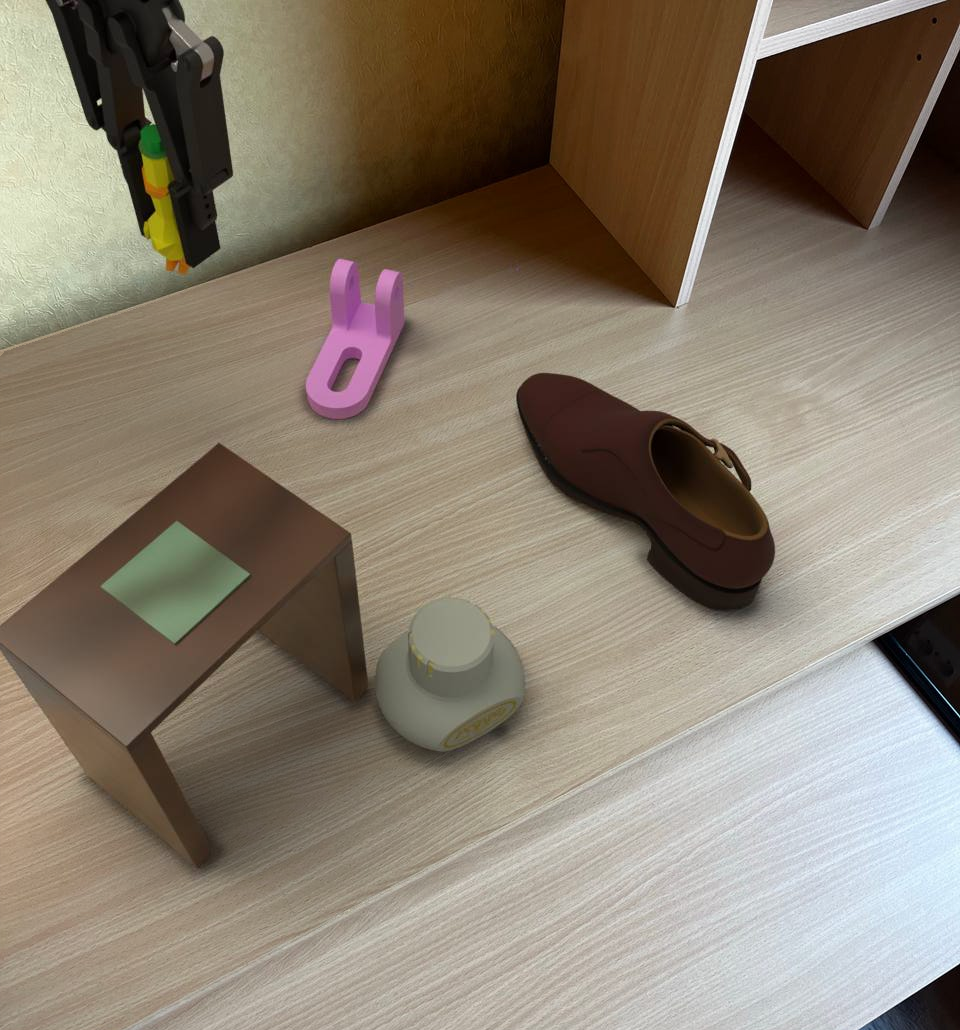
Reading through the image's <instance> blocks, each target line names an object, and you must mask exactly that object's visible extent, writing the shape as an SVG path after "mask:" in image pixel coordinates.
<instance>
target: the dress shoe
mask: <svg viewBox="0 0 960 1030" xmlns="http://www.w3.org/2000/svg"><path fill="white" fill-rule="evenodd" d="M515 399H516V400H515V401H516V407H517V410H518V415H519V418H520V421H521V423H522V427H523V429H524V432H525V434H526V438H527V439H528V442H529V444H530V447H531V449H532V451H533V453H534V455H535V458H536V460H537V461H538V464H539V465H540V468H541V469H542V471H543V472H544V474H545V476H546V477H547V478H548V479H549V481H550V482H551V483H552V484H553V485H554V486H555V487H556V488H557V489H558V490H559V491H560V492H562V493H563V494H564V495H566V497H569V498H570V499H572V500H573V501H576V502H578V503H580V504H581V505H584V506H586V507H588V508H591V509H593V510H595V511H598V512H600V513H603V514H606V515H609V516H611V517H615V518H618V519H622V520H625V521H628V522H630V523H633V524H635V525H636V526H638V527H640V528H641V530H643V531H644V532H645V534H646V535H647V537H648V538H649V541H650V542H651V546H650V548H649V551H648V553H647V556H646V560H647V562H648V563H649V565H651V567H653V569H654V570H655V571H656V572H658V574H659V575H661V576H662V577H663V578H664V579H665V580H666V581H667V582H668V583H670V584H671V585H673V586H674V587H675V588H676V589H677V590H678V591H680V592H681V593H682V594H683V595H685V596H686V597H688V598H689V599H691V600H693V601H695V602H697V603H699V604H700V605H701V606H704V607H707V608H710V609H713V610H716V611H736V610H741V609H745V608H746V607H748V606H750V605H751V604H752V602H753V601H754V600H755V598H756V597H757V595H758V591H759V588H760V586H761V583H762V580H763V578H765V576H766V575H767V574H768V573H769V571H770V570H771V568H772V566H773V564H774V560H775V557H776V543H775V541H774V537H773V534H772V531H771V526H770V523H769V519H768V516H767V514H766V513H765V511H764V510H763V508H762V507H761V505H760V504H759V502H758V500H757V499H756V498H755V497H754V496H753V494H752V493H751V491H752V479H751V476H750V474H749V473H748V471H747V469H746V468H745V466H744V465H743V463H742V461H741V460H740V458H739V456H738V455H737V454H736V452H735V451H734V450H733V449H732V448H730V447H728V446H727V445H726V444H723V443H722V442H720V441H719V440H718V439H717V438H711V439H710V438H707V437H705V436H703V435H702V434H701V433H699V431H697V430H696V429H695V428H693V426H692V425H690V424H689V423H688V422H686V421H684V420H683V419H680V418H679V417H677V416H674V415H672V414H670V413H667V412H665V411H659V410H639V409H638V408H637V407H635V406H633V405H631V404H630V403H628V402H626V401H625V400H623V399H621V398H618V397H616V396H614V395H612V394H610V393H609V392H607V391H606V390H604V389H602V388H599V387H598V386H597V385H594V384H592V383H591V382H588V381H587V380H584V379H583V378H580V377H577V376H573V375H568V374H561V373H553V372H538V373H535V374H532V375H531V376H528V377H527V378H526V379H525V380H524V381H523V382H522V383H521V384H520V386H519V387H518V389H517V391H516V396H515ZM709 448H713V451H712V450H710V449H709ZM733 468H734V470H735V472H736V475H737V476H735V475H734V474H733V473H732V472H731V471H730V470H729V469H733ZM737 477H738V478H737Z"/></svg>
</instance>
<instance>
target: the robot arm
mask: <svg viewBox="0 0 960 1030" xmlns="http://www.w3.org/2000/svg"><path fill="white" fill-rule="evenodd" d="M45 3H46V5H47V6H48V8H49V10H50V13H51V14H52V17H53V18H52V19H53V21H54V25H55V27H56V31H57V33H58V36H59V39H60V42H61V46H62V49H63V51H64V55H65V58H66V61H67V63H68V64H67V65H68V67H69V71H70V74H71V77H72V79H73V83H74V86H75V89H76V93H77V96H78V99H79V103H80V105H81V108H82V111H83V114H84V119H85V120H86V122H87V124H88V126H89V127H90V128H91V129H93V130H94V131H98V130H100V129H102V131H104V133H105V134H106V135H105V136H106V139H107V141H108V143H109V145H110V146H111V148H113V150H115V151H116V153H117V157H118V161H119V164H120V168H121V171H122V176H123V178H124V180H125V182H126V184H127V188H128V191H129V195H130V198H131V199H130V200H131V203H132V206H133V209H134V214H135V217H136V220H137V225H138V229H139V232H140V235H141V236H142V237H144V239H146V237H145V235H144V230H143V229H144V223H145V222H146V221H147V222H148V219H149V218H150V217H151V216H152V215H153V213H154V212H155V211H156V209H155V207H154V204H153V201H152V198H151V196H150V195H149V194H148V193H146V189H145V184H144V179H143V173H142V167H143V159H142V153H141V152H140V149H139V141H140V139H141V132H140V131H141V130H142V129H143V128H144V127H145V126H146V125H156V128H157V130H158V133H159V136H160V139H161V142H162V145H163V148H164V150H165V153H166V156H167V159H168V162H169V165H170V167H171V170H172V173H173V176H174V179H175V180H174V181H172V182H171V183H170V184H168V186H167V188H168V190H169V193H170V198H171V202H172V206H173V211H174V215H175V219H176V223H177V228H178V232H179V236H180V241H181V245H182V249H183V253H184V258H185V262H186V264H187V265H189V266H190V268H192V269H195V268H196V267H198V266H199V265H201V264H202V263H203V262H204V261H206V260H208V258H210V257H212V256H213V255H214V254H215V253H217V252H218V251H219V250H221V243H220V238H219V233H218V227H217V223H216V221H217V219H218V212H217V211H218V210H217V206H216V201H215V196H214V195H215V194H214V190H215V189H217V188H218V187H220V186H221V185H223V184H224V183H226V182H227V181H228V180H230V179H231V178H233V176H234V169H233V163H232V156H231V155H232V154H231V147H230V140H229V132H228V123H227V117H226V116H227V115H226V110H225V109H226V108H225V101H224V94H223V87H222V80H221V72H222V67H223V60H224V55H225V51H224V47H223V45H222V43H221V41H220V40H219V39H218V38H217V37H216V36H214V35H211V36H208V37H206V38H205V39H204V40H202V39H201V38H200V37H199V36H198V35H197V34H196V33H195V32H194V31H193V30H192V28H190V27H189V26H188V25H187V24H186V14H185V10H184V8H183V5H182V3H181V1H180V0H45ZM144 96H145V99H146V102H147V105H148V107H149V110H150V113H151V116H152V119H153V122H154V123H153V122H152V121H151V120H150V119H148V118H147V117H146V112H145V110H146V109H145V101H144ZM100 100H101V103H99V104H98V101H100ZM152 123H153V124H152ZM150 239H151V237H150ZM150 239H148V240H147V241H149V240H150Z"/></svg>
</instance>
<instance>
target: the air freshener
mask: <svg viewBox="0 0 960 1030" xmlns="http://www.w3.org/2000/svg"><path fill="white" fill-rule="evenodd" d="M525 677H526V676H525V668H524V665H523V662H522V658H521V656H520V654H519V652H518V650H517V648H516V647H515V645H514V644H513V642H512V641H511V640H510V638H509V637H508V636H507V635H506V634H505V633H504V632H503V631H502V630H501V629H499V627H497V626H495V625H494V624H493V622H492V621H491V620H490V616H489V615H488V613H487V612H485V611H484V610H483V609H482V608H481V607H480V606H479V605H477V604H476V603H472V602H470V601H469V600H467V599H464V598H459V597H442V598H438V599H434V600H432V601H430V602H428V603H426V604H425V605H423V606H422V607H421V608H419V609H418V610H417V611H416V613H414V615H413V617H412V619H410V623H409V626H408V630H407V631H405V632H404V633H402V634H401V635H399V636H398V637H397V638H395V639H393V641H392V642H390V644H388V645H387V646H386V647H385V649H383V650H382V652H381V654H379V658H378V660H377V662H376V666H375V674H374V691H375V696H376V701H377V704H378V706H379V708H380V711H381V713H382V715H383V717H384V718H385V720H386V721H387V722H388V724H389V725H390V726H391V727H392V728H393V729H394V731H395V732H396V733H397V734H399V735H400V736H401V737H403V738H404V739H406V740H407V741H409V742H411V743H412V744H415V745H417V746H418V747H421V748H424V749H427V750H431V751H437V752H440V753H441V752H443V753H444V752H449V751H453V750H455V749H458V748H461V747H463V746H466V745H467V744H469V743H472V742H473V741H476V740H478V739H479V738H481V737H482V736H485V735H486V734H488V733H489V732H491V731H492V730H494V729H495V728H497V727H498V726H500V725H501V724H502V723H504V722H505V721H506V720H507V719H509V718H510V717H511V716H512V715H513V714H514V713H515V712H516V711H517V710H518V709H519V708H520V707H521V705H522V703H523V699H524V696H525V690H526V678H525Z"/></svg>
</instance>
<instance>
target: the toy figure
mask: <svg viewBox="0 0 960 1030" xmlns="http://www.w3.org/2000/svg"><path fill="white" fill-rule="evenodd" d="M140 132H141V139H140V141H139V149H140V152H141V153H142V159H143V167H142V173H143V179H144V184H145V189H146V193H148V194H149V195H150V196H151V198H152V201H153V204H154V207H155V209H156V211H155V212H154V213H153V215H152V216H151V217H150V218H149V219H148V222H147V221H146V222H145V223H144V229H143V230H144V235H145V237H146V238H145V237H144V238H145V239H146V240H147V241H149V240H150V241H151V242H150V243H151V246H152V250H153V251H155V252H156V253H158V254H160V255H161V256H162V257H163V258H165V271H167V272H174V271H175V269H176V267H177V266H178V267H177V273H178V274H181V275H186V274H187V272H189V269H191V267H190V266H189V265H187V264H186V262H185V258H184V253H183V249H182V245H181V241H180V236H179V232H178V228H177V223H176V219H175V215H174V211H173V206H172V202H171V198H170V193H169V190H168V188H167V186H168V184H170V183H171V182H172V181H174V180H175V179H174V176H173V173H172V170H171V167H170V165H169V162H168V159H167V156H166V153H165V150H164V148H163V145H162V142H161V139H160V136H159V133H158V130H157V128H156V125H155V124H154V125H152V124H150V125H146V126H145V127H144V128H143V129H142V130H141V131H140ZM150 237H151V238H150ZM148 239H149V240H148Z"/></svg>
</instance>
